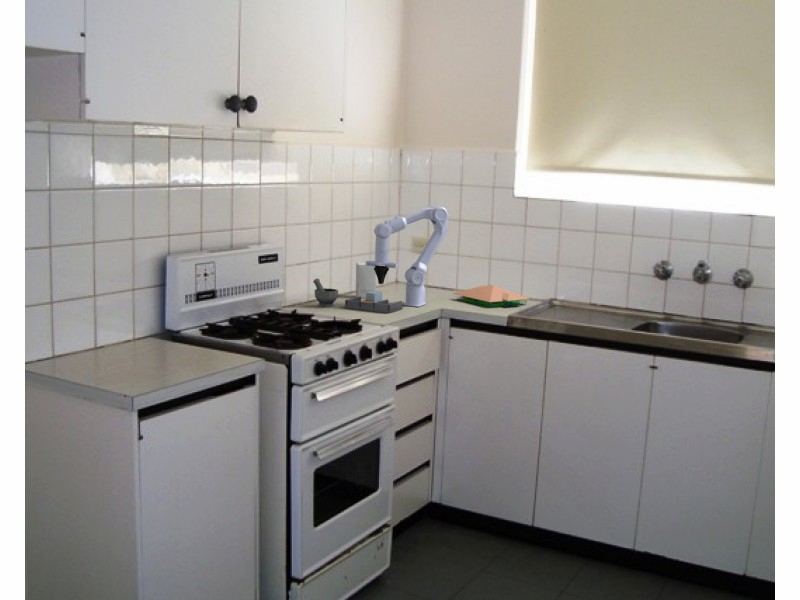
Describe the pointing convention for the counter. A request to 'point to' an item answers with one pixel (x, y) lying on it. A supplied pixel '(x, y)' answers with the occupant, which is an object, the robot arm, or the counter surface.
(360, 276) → the skincare box
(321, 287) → the mortar and pestle
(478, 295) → the house
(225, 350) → the counter surface
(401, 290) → the counter surface
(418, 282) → the robot arm
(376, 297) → the rectangular block
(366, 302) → the rack
